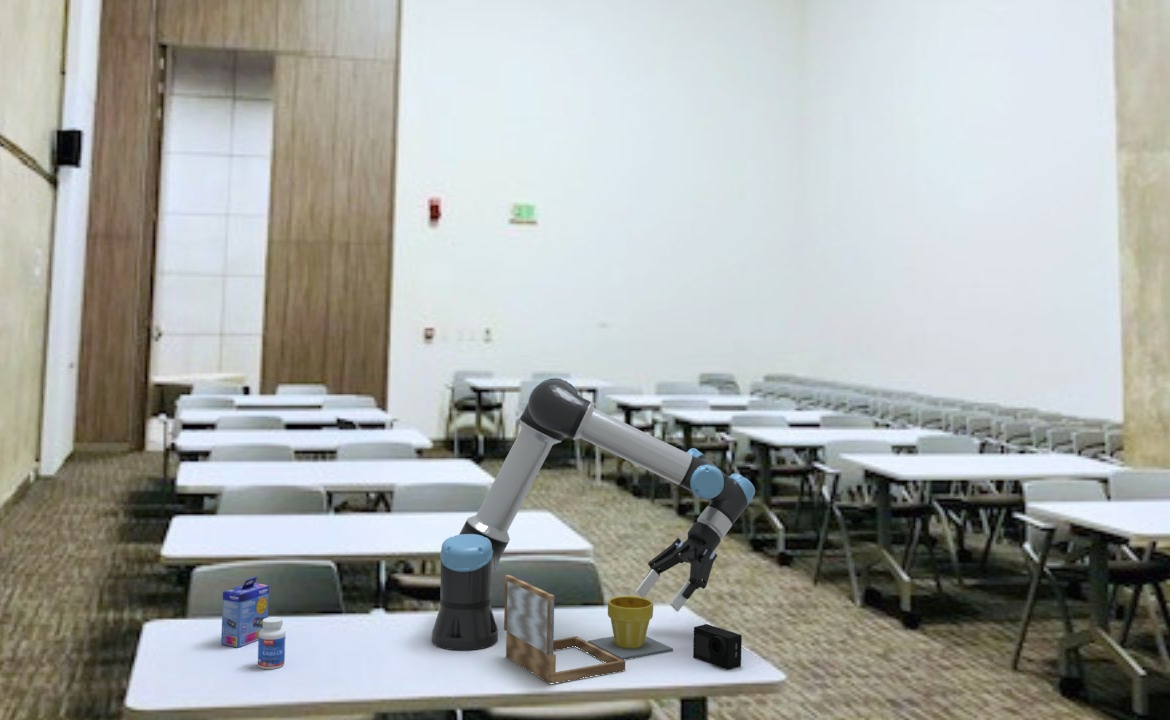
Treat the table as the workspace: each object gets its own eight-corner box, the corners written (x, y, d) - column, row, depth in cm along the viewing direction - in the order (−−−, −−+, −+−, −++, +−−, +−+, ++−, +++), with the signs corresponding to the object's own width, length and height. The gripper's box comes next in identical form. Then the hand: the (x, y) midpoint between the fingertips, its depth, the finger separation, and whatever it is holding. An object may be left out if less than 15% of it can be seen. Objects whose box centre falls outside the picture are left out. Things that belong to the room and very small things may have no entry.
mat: (587, 643, 225) (587, 640, 225) (637, 634, 232) (637, 632, 232) (621, 660, 213) (621, 657, 213) (673, 651, 220) (673, 648, 220)
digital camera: (688, 659, 215) (689, 627, 215) (705, 654, 219) (706, 623, 219) (724, 671, 207) (724, 638, 207) (741, 666, 211) (741, 634, 211)
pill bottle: (259, 671, 202) (260, 624, 202) (255, 663, 206) (256, 617, 206) (287, 667, 204) (287, 621, 204) (282, 660, 209) (283, 614, 209)
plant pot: (653, 652, 217) (654, 608, 217) (606, 650, 218) (607, 606, 218) (651, 638, 228) (652, 596, 228) (607, 636, 228) (608, 595, 228)
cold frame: (503, 657, 214) (505, 575, 213) (576, 645, 223) (578, 566, 223) (548, 685, 197) (550, 596, 196) (625, 670, 206) (626, 585, 206)
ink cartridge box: (239, 648, 216) (240, 583, 216) (219, 645, 218) (220, 580, 218) (269, 636, 225) (270, 574, 225) (250, 633, 227) (251, 571, 227)
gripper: (751, 550, 224) (698, 624, 216) (686, 531, 245) (635, 598, 238) (734, 529, 221) (679, 603, 214) (669, 512, 243) (617, 579, 235)
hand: (656, 601), depth 226 cm, fingers open, 13 cm apart
